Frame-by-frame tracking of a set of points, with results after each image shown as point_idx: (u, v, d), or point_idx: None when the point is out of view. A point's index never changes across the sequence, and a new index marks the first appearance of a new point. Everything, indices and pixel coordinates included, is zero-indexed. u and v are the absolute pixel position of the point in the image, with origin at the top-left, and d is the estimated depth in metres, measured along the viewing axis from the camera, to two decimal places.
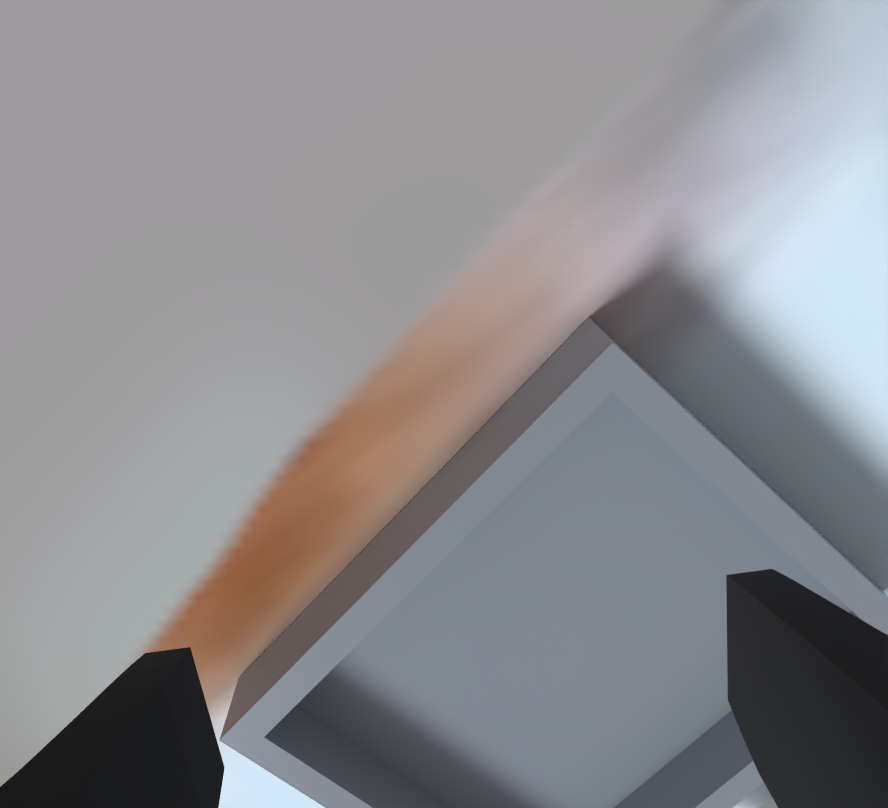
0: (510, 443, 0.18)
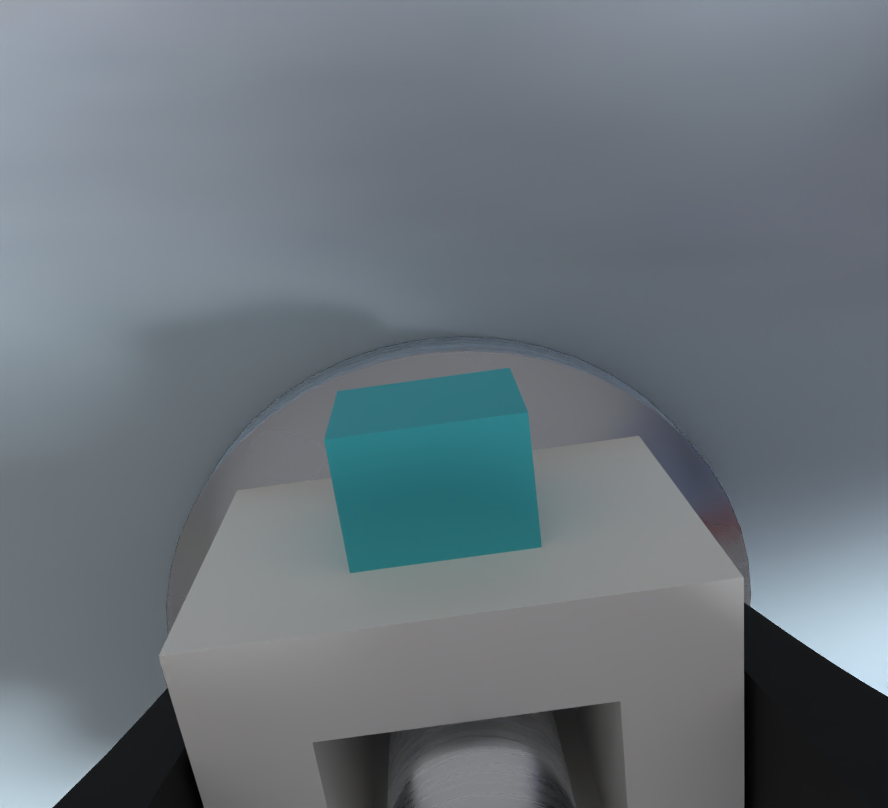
0: None
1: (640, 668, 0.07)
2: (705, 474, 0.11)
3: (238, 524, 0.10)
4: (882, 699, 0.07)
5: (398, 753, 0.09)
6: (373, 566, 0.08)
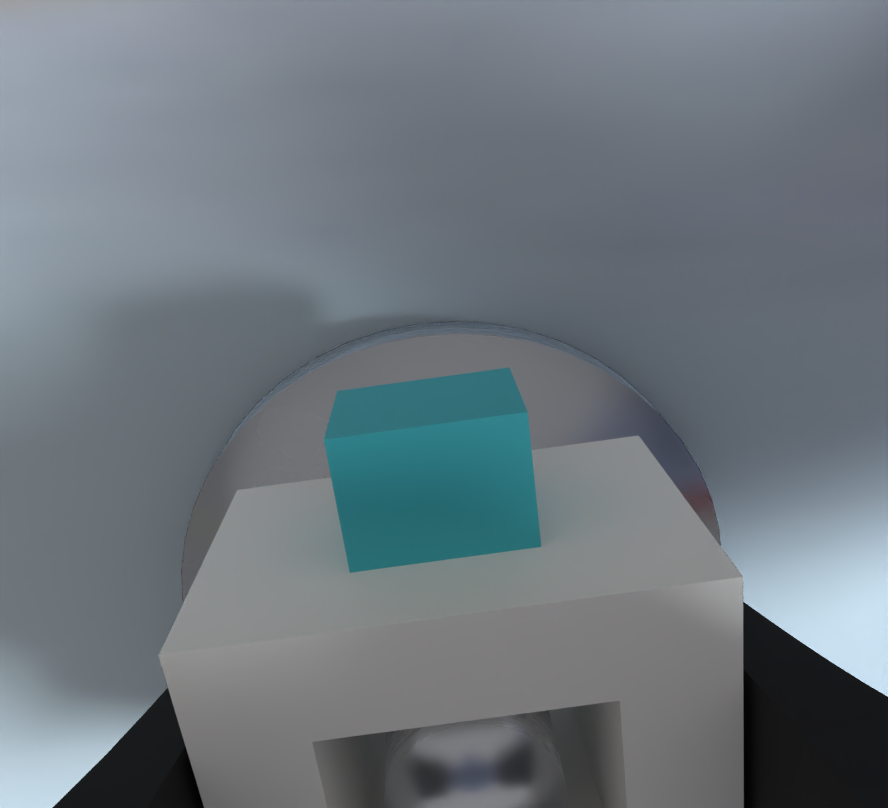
0: None
1: (639, 667, 0.07)
2: (678, 448, 0.12)
3: (238, 524, 0.10)
4: (882, 699, 0.07)
5: None
6: (373, 566, 0.08)
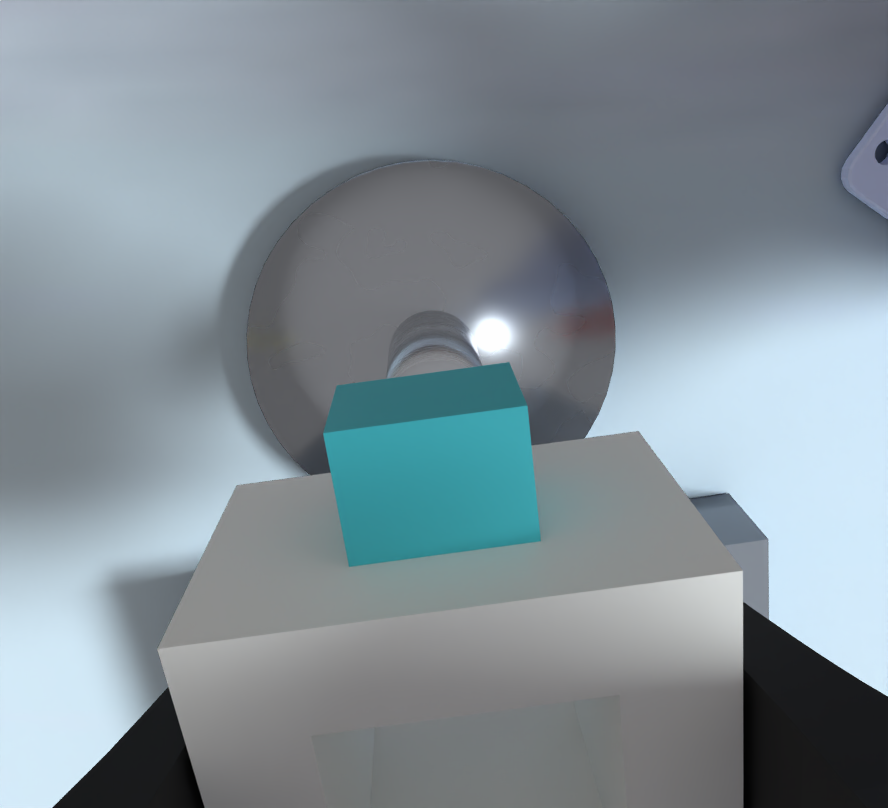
0: None
1: (639, 662, 0.07)
2: (580, 242, 0.17)
3: (237, 519, 0.10)
4: (882, 699, 0.07)
5: (390, 371, 0.15)
6: (372, 560, 0.08)
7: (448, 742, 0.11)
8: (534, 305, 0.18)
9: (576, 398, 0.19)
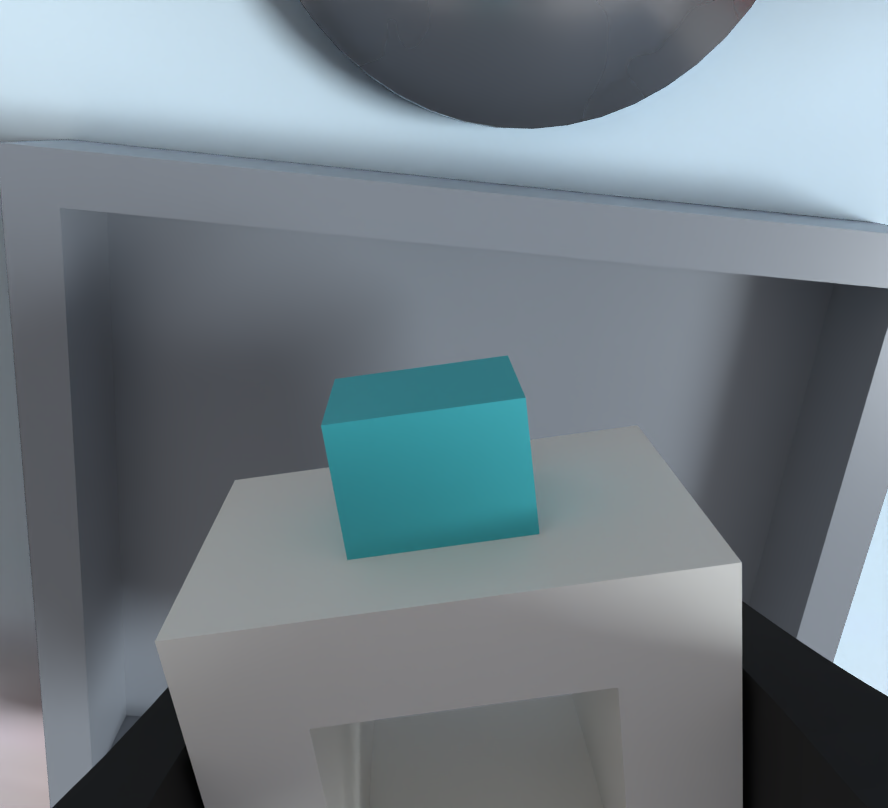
0: None
1: (638, 654, 0.07)
2: None
3: (235, 513, 0.10)
4: (883, 699, 0.07)
5: None
6: (370, 553, 0.08)
7: (447, 737, 0.11)
8: None
9: None
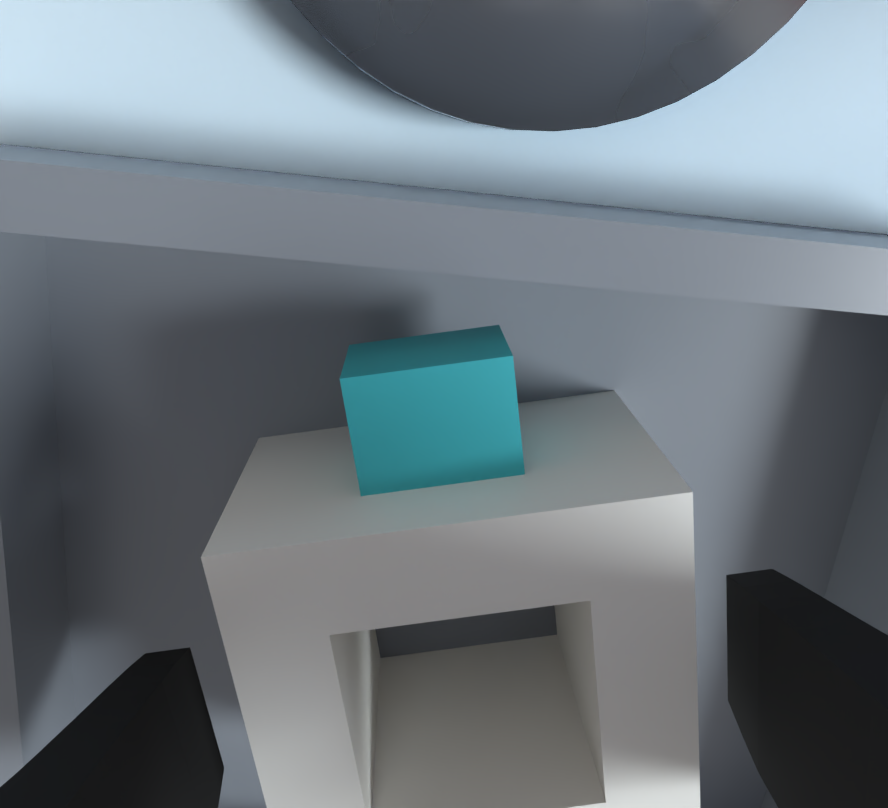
0: None
1: (607, 571, 0.09)
2: None
3: (261, 463, 0.11)
4: None
5: None
6: (380, 490, 0.10)
7: (446, 670, 0.13)
8: None
9: None
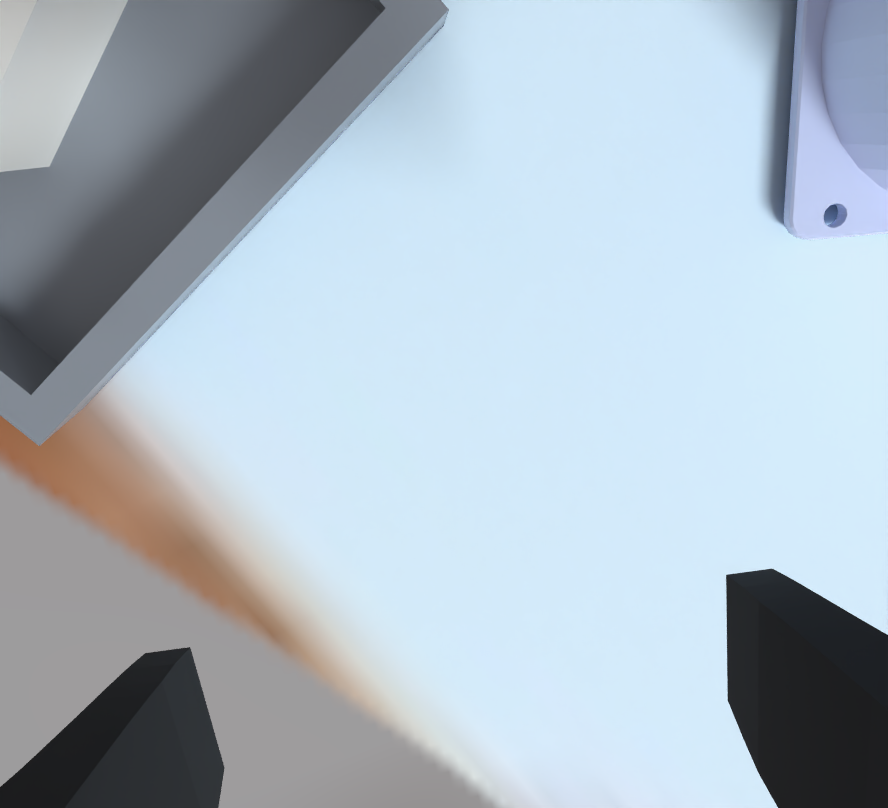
0: None
1: None
2: None
3: None
4: None
5: None
6: None
7: None
8: None
9: None
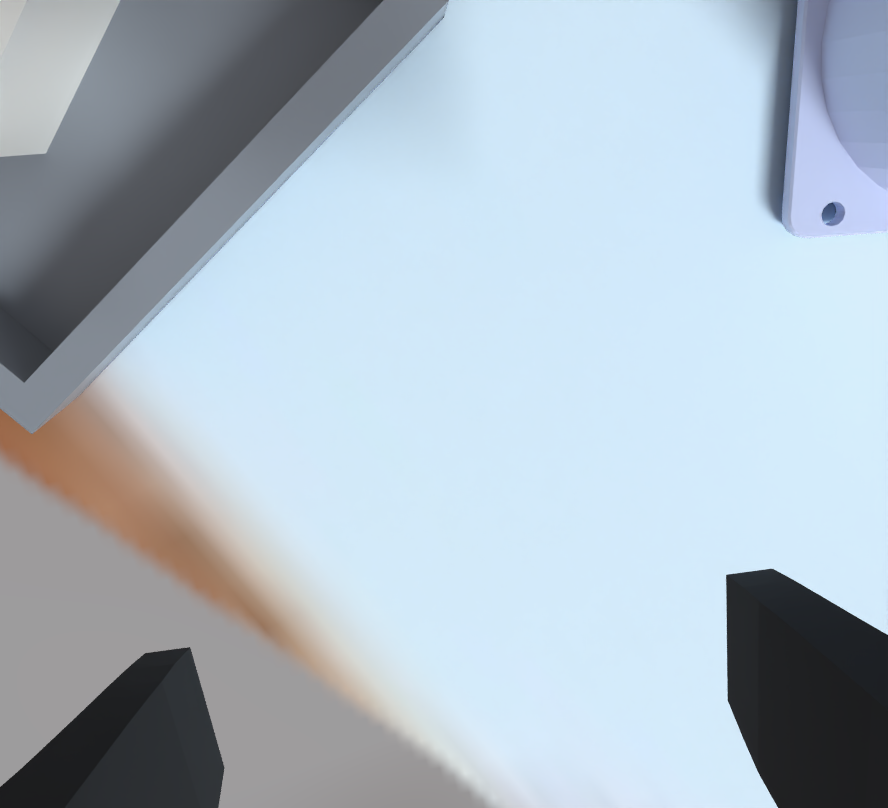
0: None
1: None
2: None
3: None
4: None
5: None
6: None
7: None
8: None
9: None
